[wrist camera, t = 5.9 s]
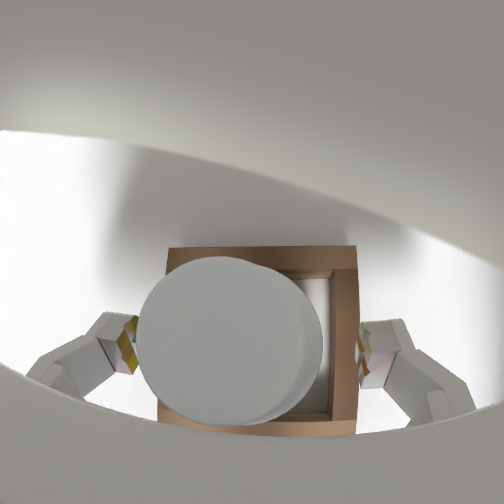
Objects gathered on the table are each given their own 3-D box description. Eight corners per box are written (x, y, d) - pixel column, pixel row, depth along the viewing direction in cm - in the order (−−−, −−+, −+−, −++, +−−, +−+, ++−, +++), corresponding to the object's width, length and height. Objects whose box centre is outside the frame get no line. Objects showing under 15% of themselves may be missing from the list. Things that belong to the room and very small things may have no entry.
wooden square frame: (172, 420, 14) (157, 428, 12) (181, 258, 17) (168, 247, 15) (347, 430, 13) (354, 441, 11) (349, 257, 16) (355, 245, 14)
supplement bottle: (286, 407, 14) (277, 489, 5) (198, 369, 15) (86, 386, 6) (324, 317, 15) (370, 272, 6) (234, 283, 16) (165, 203, 7)
